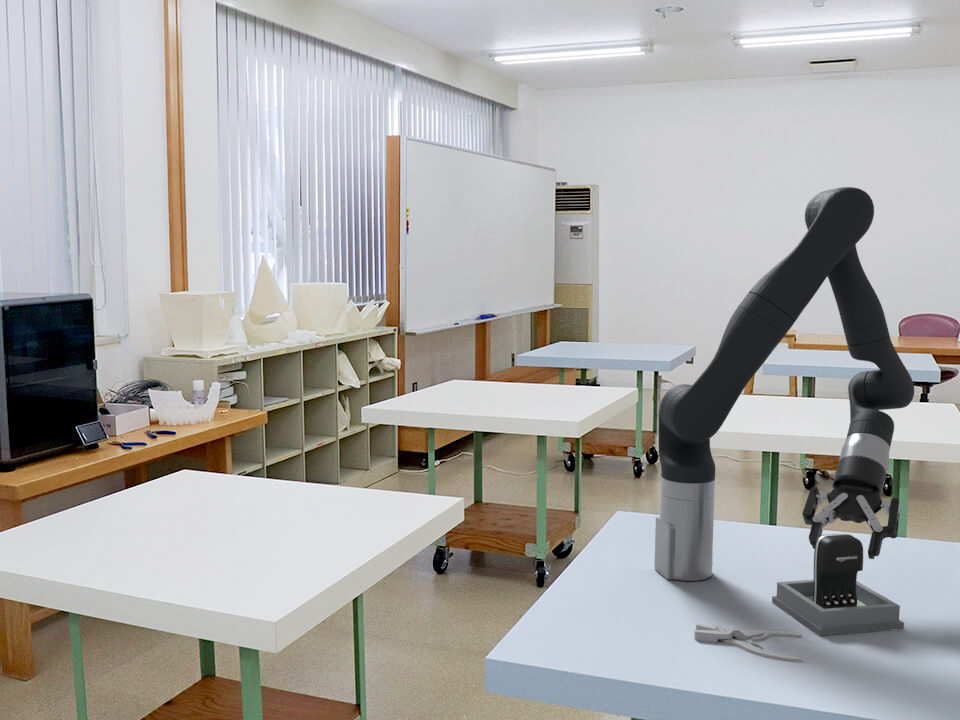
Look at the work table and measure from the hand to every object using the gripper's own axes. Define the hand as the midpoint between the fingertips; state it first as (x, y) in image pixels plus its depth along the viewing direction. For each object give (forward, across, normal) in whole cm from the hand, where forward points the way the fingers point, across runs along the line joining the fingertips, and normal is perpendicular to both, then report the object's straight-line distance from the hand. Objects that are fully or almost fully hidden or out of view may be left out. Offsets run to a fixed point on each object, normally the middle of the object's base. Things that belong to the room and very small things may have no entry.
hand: (842, 551), depth 150 cm
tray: (+9, 0, +5) cm, 10 cm away
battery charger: (+8, 0, +4) cm, 9 cm away
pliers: (+22, -8, -7) cm, 24 cm away
